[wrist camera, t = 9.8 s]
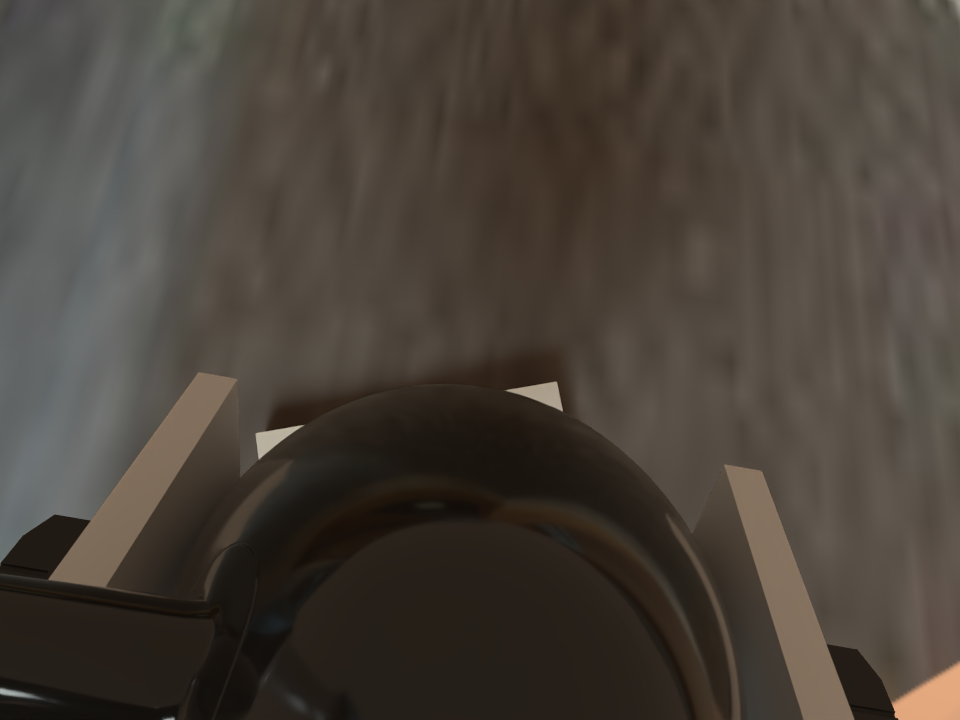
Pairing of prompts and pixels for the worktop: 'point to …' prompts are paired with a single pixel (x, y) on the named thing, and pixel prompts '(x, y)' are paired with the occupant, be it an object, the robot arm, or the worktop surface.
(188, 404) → the robot arm
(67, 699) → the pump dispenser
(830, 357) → the worktop surface
